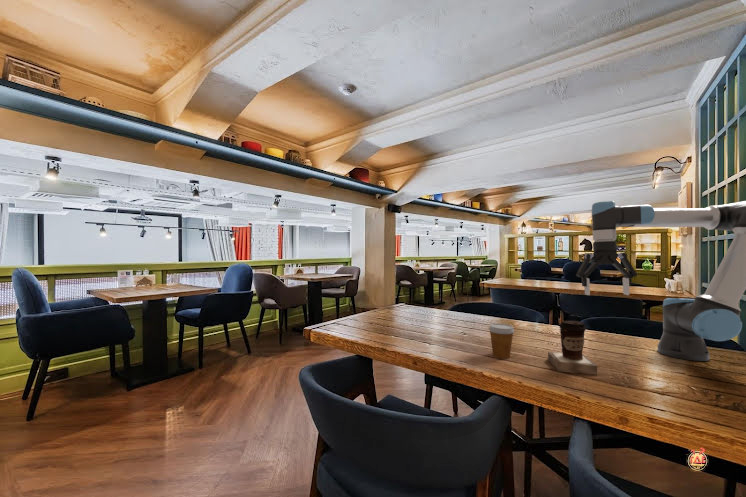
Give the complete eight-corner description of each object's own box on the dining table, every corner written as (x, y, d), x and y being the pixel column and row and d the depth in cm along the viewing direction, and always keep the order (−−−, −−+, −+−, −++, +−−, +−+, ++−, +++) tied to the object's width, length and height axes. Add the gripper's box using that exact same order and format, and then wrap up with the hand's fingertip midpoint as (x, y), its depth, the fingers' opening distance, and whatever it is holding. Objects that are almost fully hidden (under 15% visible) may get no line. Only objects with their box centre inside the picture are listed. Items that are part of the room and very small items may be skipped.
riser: (583, 362, 119) (583, 353, 119) (597, 374, 108) (597, 365, 108) (548, 359, 122) (548, 351, 122) (558, 371, 111) (558, 361, 111)
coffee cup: (591, 362, 110) (591, 325, 110) (565, 361, 111) (565, 324, 111) (579, 354, 118) (580, 320, 118) (555, 353, 120) (555, 319, 120)
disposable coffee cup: (514, 354, 129) (514, 324, 129) (514, 361, 120) (514, 330, 120) (489, 350, 133) (489, 322, 133) (487, 357, 124) (487, 327, 124)
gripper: (635, 240, 126) (637, 293, 125) (565, 242, 131) (567, 293, 130) (647, 239, 118) (649, 295, 118) (573, 241, 123) (575, 296, 123)
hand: (606, 294), depth 124 cm, fingers open, 13 cm apart
